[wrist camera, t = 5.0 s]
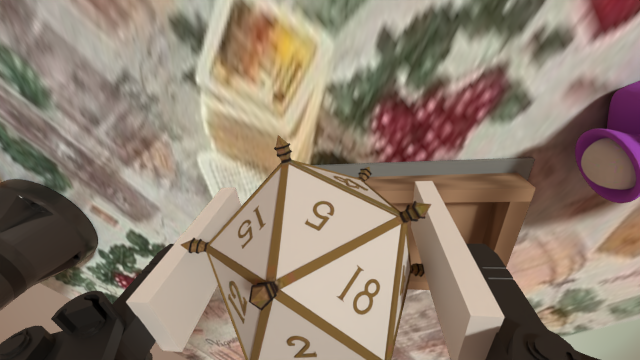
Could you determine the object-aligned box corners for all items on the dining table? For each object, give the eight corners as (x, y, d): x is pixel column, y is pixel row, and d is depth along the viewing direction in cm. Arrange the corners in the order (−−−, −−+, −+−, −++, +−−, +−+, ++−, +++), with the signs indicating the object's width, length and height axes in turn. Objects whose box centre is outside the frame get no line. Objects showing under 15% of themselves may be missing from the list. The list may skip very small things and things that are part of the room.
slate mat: (317, 272, 38) (317, 274, 38) (302, 165, 30) (302, 167, 29) (491, 277, 35) (492, 279, 35) (532, 157, 26) (534, 159, 26)
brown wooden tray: (325, 265, 37) (322, 286, 34) (314, 176, 30) (309, 192, 27) (484, 269, 34) (496, 292, 31) (515, 170, 27) (535, 188, 24)
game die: (361, 165, 16) (522, 301, 10) (272, 258, 17) (365, 444, 10) (263, 59, 10) (560, 259, 3) (126, 219, 10) (122, 661, 4)
